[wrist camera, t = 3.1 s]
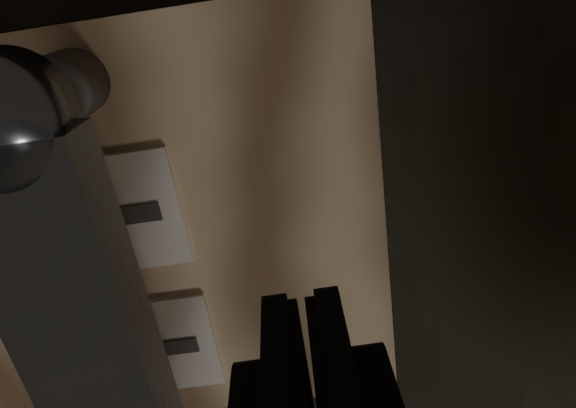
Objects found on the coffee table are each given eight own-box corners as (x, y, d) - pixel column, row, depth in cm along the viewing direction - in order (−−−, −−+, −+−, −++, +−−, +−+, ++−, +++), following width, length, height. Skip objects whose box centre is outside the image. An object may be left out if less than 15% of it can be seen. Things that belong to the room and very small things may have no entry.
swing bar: (65, 33, 13) (30, 42, 11) (212, 498, 21) (206, 547, 19) (-77, 56, 13) (-133, 67, 12) (122, 508, 21) (108, 557, 19)
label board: (362, -24, 18) (393, -27, 13) (390, 365, 26) (417, 457, 21) (-195, 64, 19) (-364, 93, 14) (-6, 413, 27) (-72, 511, 22)
